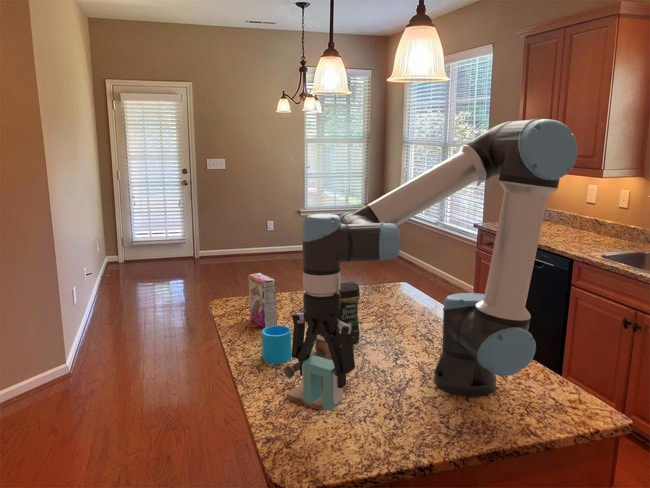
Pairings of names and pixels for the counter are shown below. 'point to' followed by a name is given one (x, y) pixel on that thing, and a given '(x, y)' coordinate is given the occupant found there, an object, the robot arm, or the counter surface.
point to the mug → (276, 344)
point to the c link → (319, 381)
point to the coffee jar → (349, 307)
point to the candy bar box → (262, 300)
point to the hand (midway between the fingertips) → (322, 395)
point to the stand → (297, 392)
